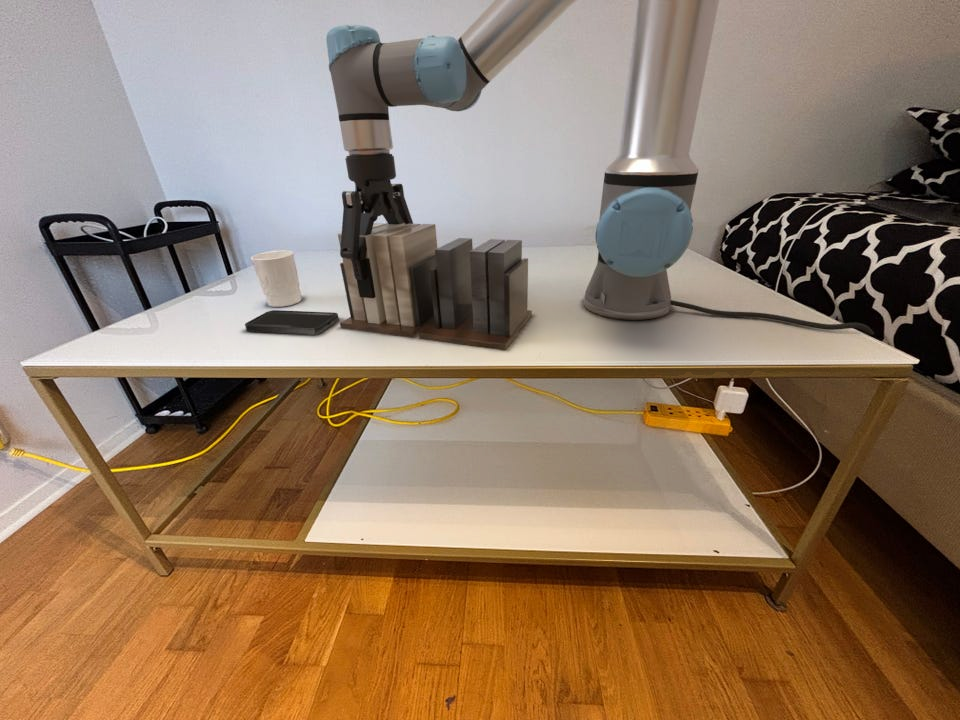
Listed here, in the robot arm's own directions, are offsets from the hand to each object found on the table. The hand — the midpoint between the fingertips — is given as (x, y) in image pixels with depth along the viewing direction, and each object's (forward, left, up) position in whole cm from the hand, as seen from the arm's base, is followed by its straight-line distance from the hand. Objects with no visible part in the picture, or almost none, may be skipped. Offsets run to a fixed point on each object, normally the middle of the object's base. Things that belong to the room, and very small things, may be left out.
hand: (388, 286), depth 75 cm
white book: (0, 0, -5) cm, 5 cm away
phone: (+16, +9, -6) cm, 19 cm away
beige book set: (-1, 0, -6) cm, 6 cm away
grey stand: (-17, 0, -6) cm, 18 cm away
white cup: (+28, -1, -6) cm, 28 cm away
